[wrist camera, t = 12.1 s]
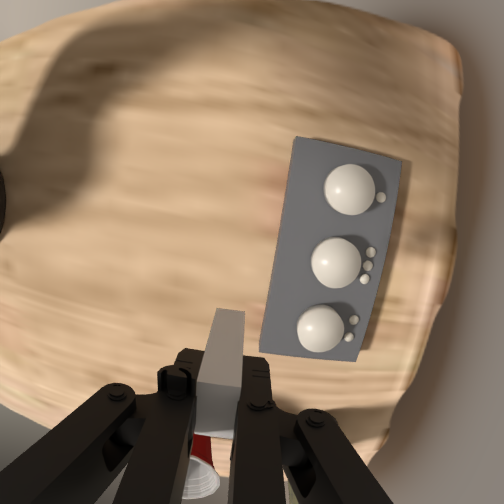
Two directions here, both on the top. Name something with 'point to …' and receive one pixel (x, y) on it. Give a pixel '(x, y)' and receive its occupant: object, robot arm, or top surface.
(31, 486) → the robot arm
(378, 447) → the top surface
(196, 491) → the plastic cup
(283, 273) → the button panel
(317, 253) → the button three dots
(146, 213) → the top surface
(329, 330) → the button two dots
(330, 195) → the button one dot
